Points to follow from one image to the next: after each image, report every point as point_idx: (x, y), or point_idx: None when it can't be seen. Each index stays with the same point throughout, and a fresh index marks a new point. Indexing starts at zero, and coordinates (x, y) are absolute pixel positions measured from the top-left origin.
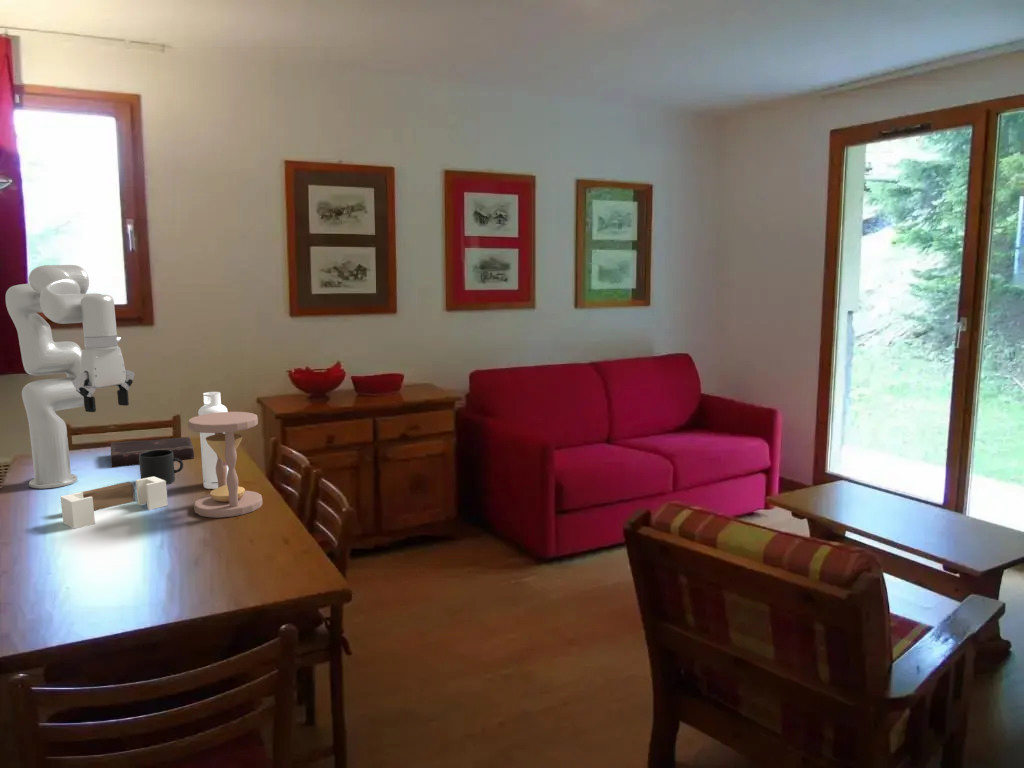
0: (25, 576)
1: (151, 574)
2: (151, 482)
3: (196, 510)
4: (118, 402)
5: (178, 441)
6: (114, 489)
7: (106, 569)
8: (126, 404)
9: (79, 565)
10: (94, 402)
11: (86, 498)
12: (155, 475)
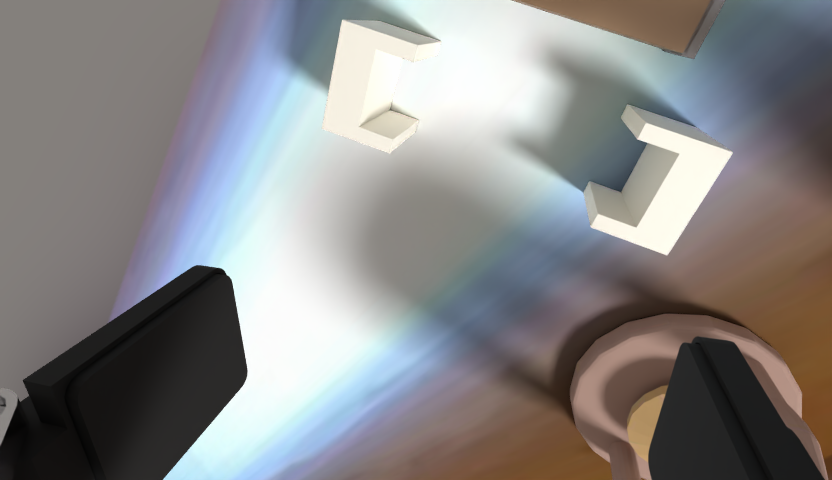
0: (157, 264)
1: (279, 443)
2: (652, 195)
3: (587, 356)
4: (694, 361)
5: None
6: (601, 27)
7: (252, 370)
8: (656, 467)
9: None
10: (168, 459)
11: (370, 144)
12: None
